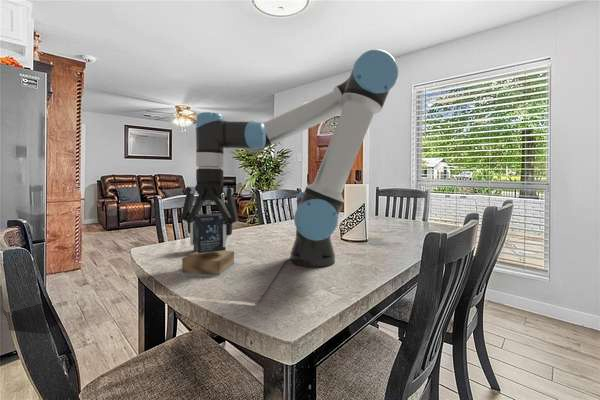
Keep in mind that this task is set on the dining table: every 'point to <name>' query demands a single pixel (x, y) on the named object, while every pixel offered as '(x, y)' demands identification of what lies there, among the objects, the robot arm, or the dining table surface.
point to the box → (208, 232)
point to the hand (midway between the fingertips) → (209, 245)
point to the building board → (209, 274)
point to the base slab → (208, 262)
